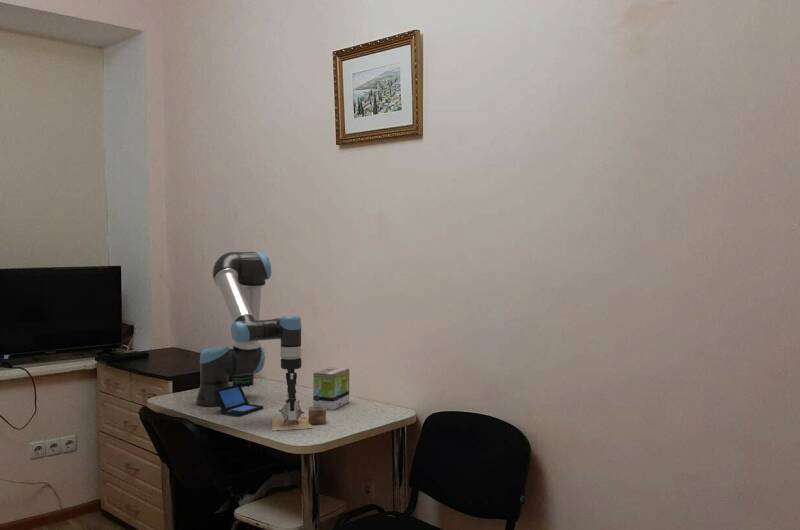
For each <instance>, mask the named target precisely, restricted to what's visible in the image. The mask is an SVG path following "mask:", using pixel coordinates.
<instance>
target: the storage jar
mask: <svg viewBox="0 0 800 530" xmlns="http://www.w3.org/2000/svg"><path fill="white" fill-rule="evenodd" d="M235 385H240V386H241V388H245V387H244V386H248V387H251V386H250V385H252V386H254V374H251V375H249V374H247V375H237V376H232V386H235Z"/></svg>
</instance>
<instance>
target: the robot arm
mask: <svg viewBox="0 0 800 530" xmlns="http://www.w3.org/2000/svg"><path fill="white" fill-rule="evenodd" d="M271 264H272V263H271V261H270V258H269V255H267V253H265V252H261V251H230V252H226V253H224V254H222V255H220V257H219V258H218V259H217V260H216V261H215V263H214V265H213V268H212V278H213V281H214V283H215V285H216V286H217V287H219V289H220V291H221V294H222V296H223V299H224V301H225V304H226V306H227V309H228V311H229V313H230V314H229V315H231V318H232V321H233V322H232V323H231V327H230V334H231V338H232V340H233V344H232V348H230V347H229V346H228V345H218V346H217V345H216V346H212V347H208V348H205V349H203V350H202V351H201V352H200V355H199V357H200V358H199V366H200V367H199V368H200V370H199V373H200V374H199V375H200V379H199V381H200V382H199V383H200V384H199V385H200V386H199V389H198V392H197V396H196V398H195V400H196V402H195V404H196V403H197V404H199V405H198V406H200V405H205V406H204V407H219V406H218V405H219V404H218V401H217V399H216V397H215V394H214V391H215V390H218V389H222V388H227V387H231V385H230V377H233V376H237V375H247V374H249V375H251V374H253V375H255V374H258V373H260V372H261V371H262V370H263V368H264V367H265V366H264V365H265V362H266V355H265V354H266V351H265V349H264V347H263V346H262V345H261V344H262V343H260V341H271V340H280V357H281V359H280V368H281V369H282V370H287V372H286V373H285V380H286V386H287V388H286V389H287V397H286V398H287V399H286V401H287V402H288V420H296V402H297V398H296V397H297V395H296V393H297V390H296V385H297V378H298V373H297V372H295V370H299V369H301V368H302V358H301V356H302V352H303V350H304V349H303V347H302V318H301V317H300V315H293V314H291V315H289V314H287V315H282V316H281V317H280V318H279V317H277V318H275V317H274V318H272V319H260V312H261V311H260V310H261V297H262V296H261V295H262V288H264V286H266V281H267V280H269V279H270V278H271V276H272V265H271ZM197 404H196V405H197Z"/></svg>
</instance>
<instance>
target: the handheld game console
mask: <svg viewBox="0 0 800 530" xmlns="http://www.w3.org/2000/svg"><path fill="white" fill-rule="evenodd" d="M214 394H215V397H216V399H217V401H218V404H219V406H218V407H219V408H220V410H221V415H225V414H227V415H226V416H231V415H233V416H232V417H243V416H246V415H248V413H249V414H252V413H256V412H259V411H261V410H263V409H264V406H263V405H258V404H253V403H252V404H251V403H250V402H249V401H248V399H247V397H246V395H245V393H244V391H243V387H241V386H240V385H235V386H233V385H230V387H227V388H222V389H218V390H215V391H214ZM245 414H246V415H245ZM242 415H243V416H242Z"/></svg>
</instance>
